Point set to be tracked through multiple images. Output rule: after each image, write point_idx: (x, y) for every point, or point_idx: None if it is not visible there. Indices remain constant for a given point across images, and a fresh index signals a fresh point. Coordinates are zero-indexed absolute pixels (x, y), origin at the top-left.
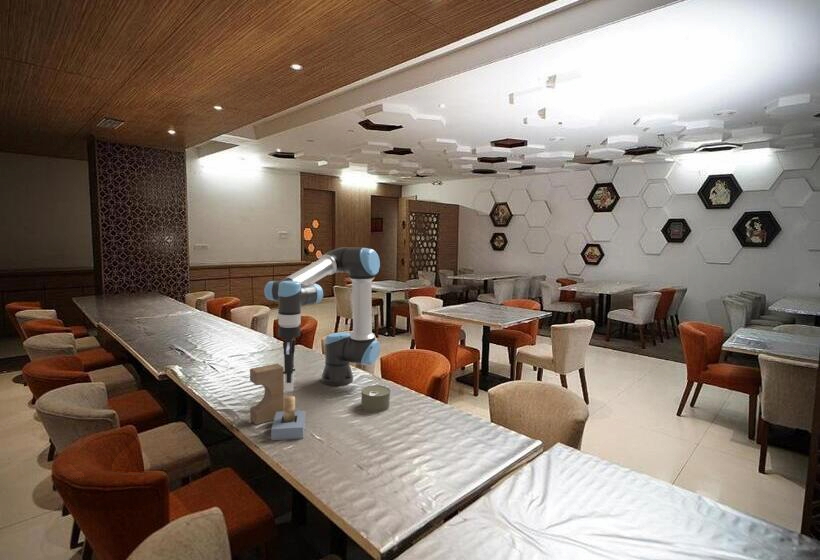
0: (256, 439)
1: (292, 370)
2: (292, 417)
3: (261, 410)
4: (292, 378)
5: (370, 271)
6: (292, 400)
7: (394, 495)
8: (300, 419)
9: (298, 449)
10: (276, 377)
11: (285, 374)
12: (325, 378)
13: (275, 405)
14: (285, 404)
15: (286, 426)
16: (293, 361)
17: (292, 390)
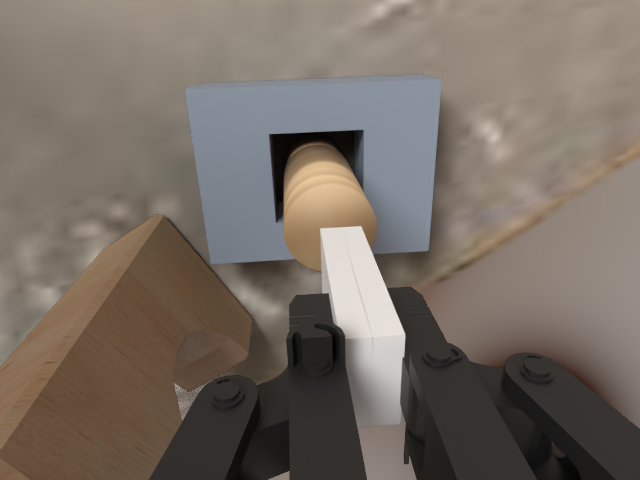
0: (392, 287)
1: (423, 371)
2: (346, 161)
3: (229, 340)
4: (388, 296)
5: None
6: (365, 197)
7: None
8: (327, 108)
9: (529, 86)
10: (105, 424)
11: (397, 407)
12: None
13: (176, 286)
14: None
15: (411, 179)
16: (192, 472)
17: (361, 231)
